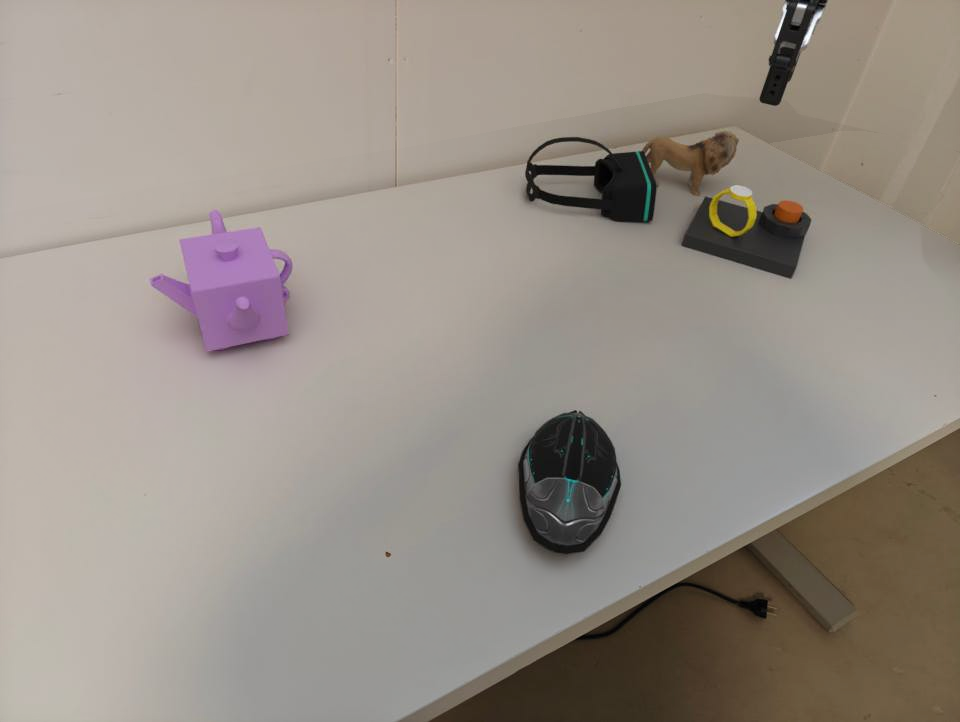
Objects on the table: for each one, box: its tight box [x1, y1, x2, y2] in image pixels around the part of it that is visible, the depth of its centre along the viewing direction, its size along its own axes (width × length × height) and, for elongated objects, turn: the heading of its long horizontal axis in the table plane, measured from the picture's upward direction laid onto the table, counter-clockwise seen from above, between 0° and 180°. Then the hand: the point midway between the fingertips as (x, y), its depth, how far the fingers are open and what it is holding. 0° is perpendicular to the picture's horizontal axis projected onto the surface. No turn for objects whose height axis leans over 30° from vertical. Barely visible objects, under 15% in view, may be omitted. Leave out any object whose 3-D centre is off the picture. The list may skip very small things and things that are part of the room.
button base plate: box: [681, 196, 812, 280], centre depth 91 cm, size 14×13×4 cm
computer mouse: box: [517, 409, 622, 555], centre depth 57 cm, size 9×17×6 cm, turn 168°
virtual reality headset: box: [524, 136, 658, 222], centre depth 94 cm, size 11×17×10 cm, turn 89°
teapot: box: [149, 209, 293, 352], centre depth 68 cm, size 18×13×10 cm
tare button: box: [774, 199, 804, 223], centre depth 90 cm, size 3×3×2 cm
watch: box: [709, 184, 757, 237], centre depth 88 cm, size 6×3×6 cm, turn 40°
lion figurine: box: [641, 130, 740, 197], centre depth 100 cm, size 15×5×9 cm, turn 79°
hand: (774, 91), depth 78 cm, fingers open, 8 cm apart
